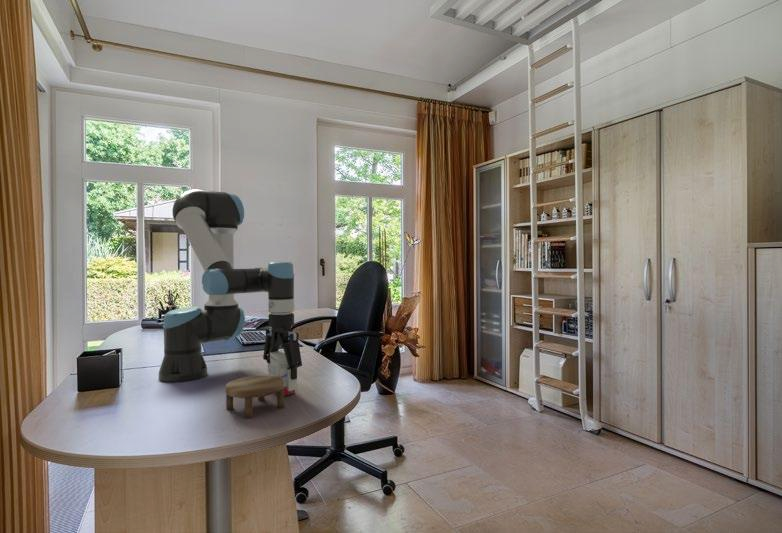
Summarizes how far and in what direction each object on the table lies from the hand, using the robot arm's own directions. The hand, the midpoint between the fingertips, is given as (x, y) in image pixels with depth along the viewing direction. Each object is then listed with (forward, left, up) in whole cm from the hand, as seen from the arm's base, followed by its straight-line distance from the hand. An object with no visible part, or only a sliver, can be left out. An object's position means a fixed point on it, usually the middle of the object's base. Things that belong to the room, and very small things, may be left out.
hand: (282, 386), depth 130 cm
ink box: (0, 0, -2) cm, 2 cm away
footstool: (+6, -13, -2) cm, 15 cm away
